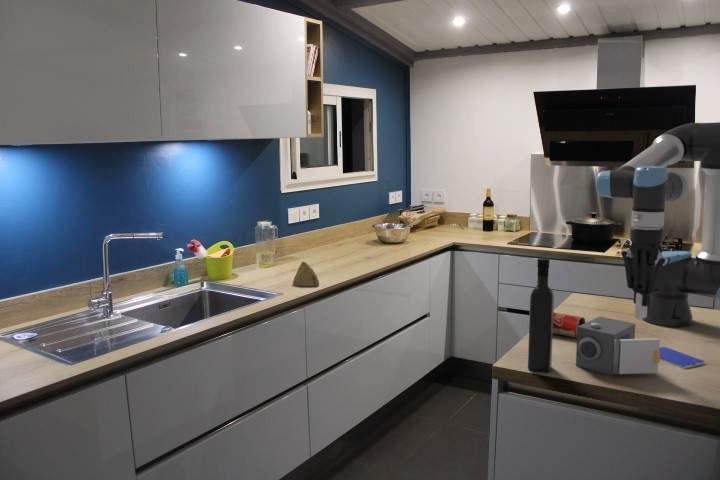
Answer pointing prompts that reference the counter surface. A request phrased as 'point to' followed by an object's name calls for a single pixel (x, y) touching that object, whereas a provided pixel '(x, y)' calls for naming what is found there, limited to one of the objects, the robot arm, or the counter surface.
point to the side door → (636, 356)
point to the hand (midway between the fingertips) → (640, 317)
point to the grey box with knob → (600, 342)
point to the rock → (305, 276)
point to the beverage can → (566, 324)
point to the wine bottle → (541, 321)
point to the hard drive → (678, 358)
